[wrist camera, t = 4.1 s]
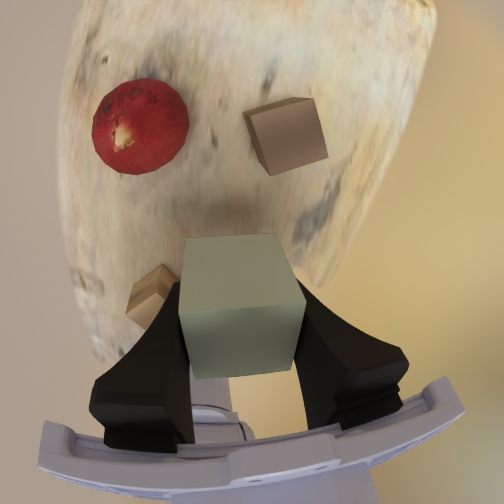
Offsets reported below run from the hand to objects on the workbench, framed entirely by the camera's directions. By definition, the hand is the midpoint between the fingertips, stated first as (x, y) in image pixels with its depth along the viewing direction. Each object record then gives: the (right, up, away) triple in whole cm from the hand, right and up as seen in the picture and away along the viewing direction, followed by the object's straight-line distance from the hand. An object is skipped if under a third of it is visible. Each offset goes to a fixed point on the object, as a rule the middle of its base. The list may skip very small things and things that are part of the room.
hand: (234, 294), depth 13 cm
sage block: (0, +1, +1) cm, 2 cm away
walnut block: (+3, +11, +5) cm, 13 cm away
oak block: (-8, -1, +11) cm, 14 cm away
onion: (-6, +11, +4) cm, 14 cm away
